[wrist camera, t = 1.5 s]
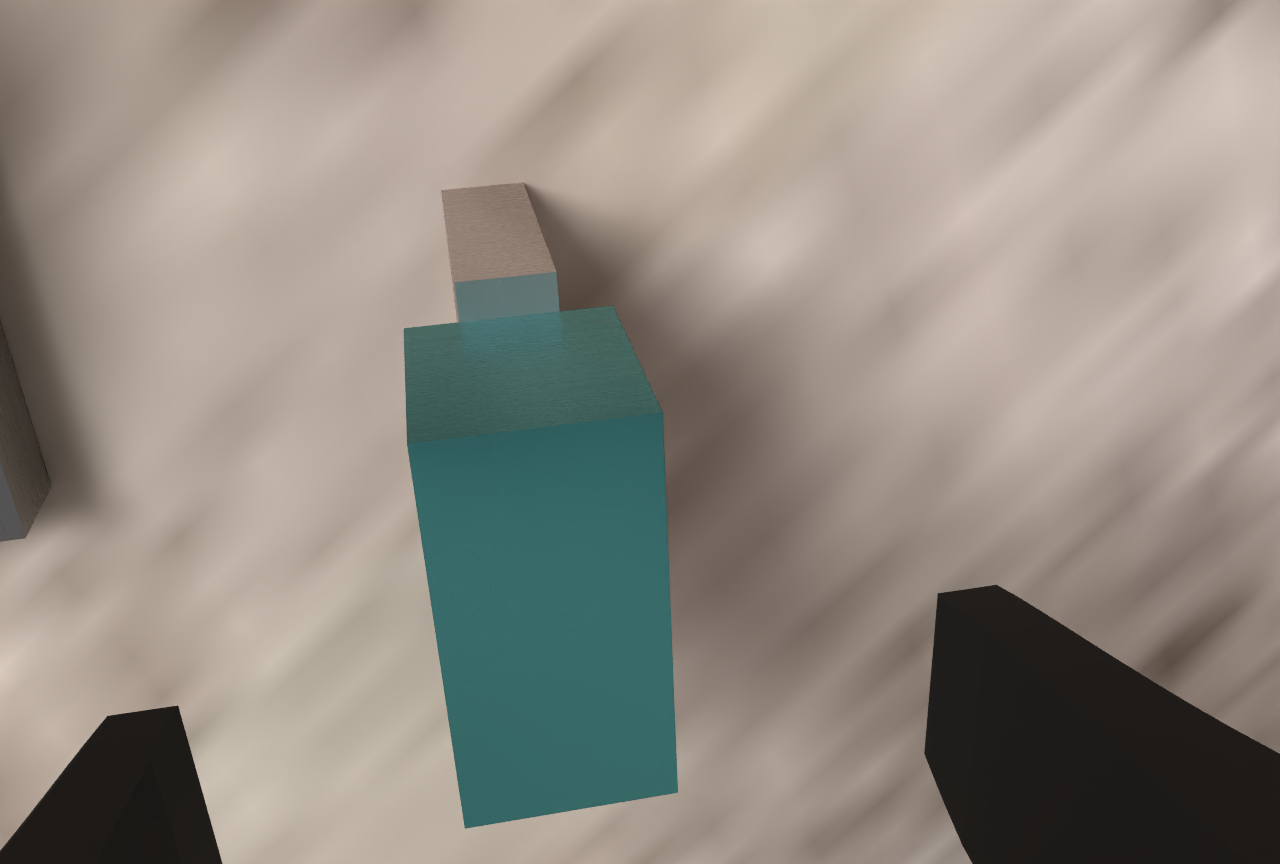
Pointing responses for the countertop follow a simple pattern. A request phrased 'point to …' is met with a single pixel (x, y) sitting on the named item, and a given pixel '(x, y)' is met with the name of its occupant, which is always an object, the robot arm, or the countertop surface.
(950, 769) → the robot arm
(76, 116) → the countertop surface
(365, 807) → the countertop surface
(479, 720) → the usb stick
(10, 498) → the base
